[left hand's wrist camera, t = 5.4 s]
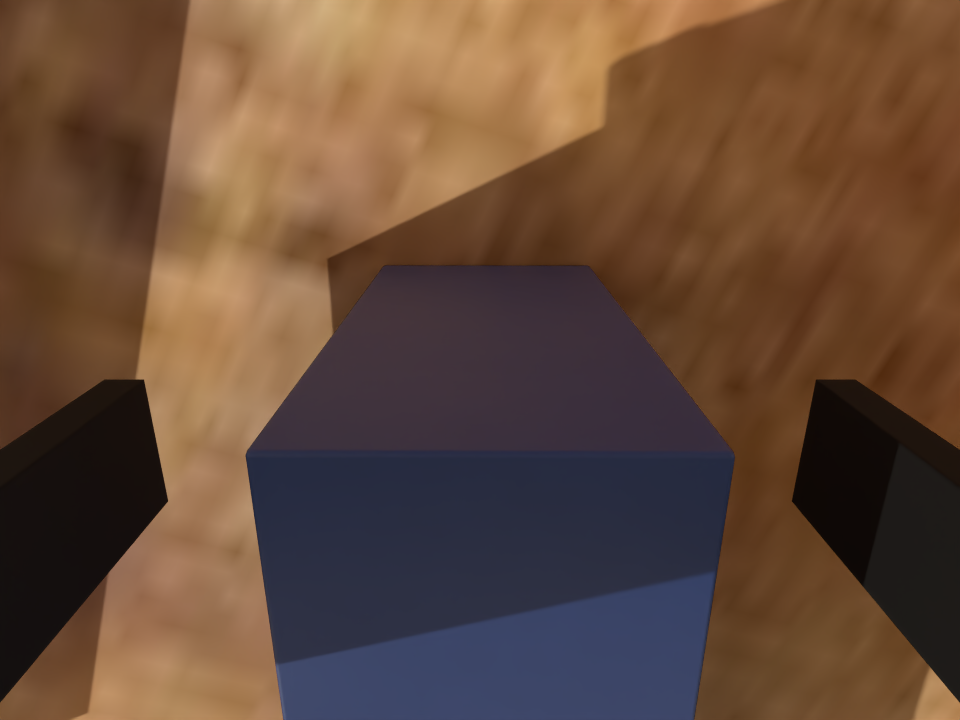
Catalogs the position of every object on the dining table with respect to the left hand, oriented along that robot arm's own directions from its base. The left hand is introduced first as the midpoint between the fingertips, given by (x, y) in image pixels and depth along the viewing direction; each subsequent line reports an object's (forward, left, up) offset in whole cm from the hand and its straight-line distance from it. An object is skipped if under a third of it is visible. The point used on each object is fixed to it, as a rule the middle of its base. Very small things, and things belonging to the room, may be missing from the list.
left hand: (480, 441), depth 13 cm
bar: (+9, +5, -3) cm, 11 cm away
